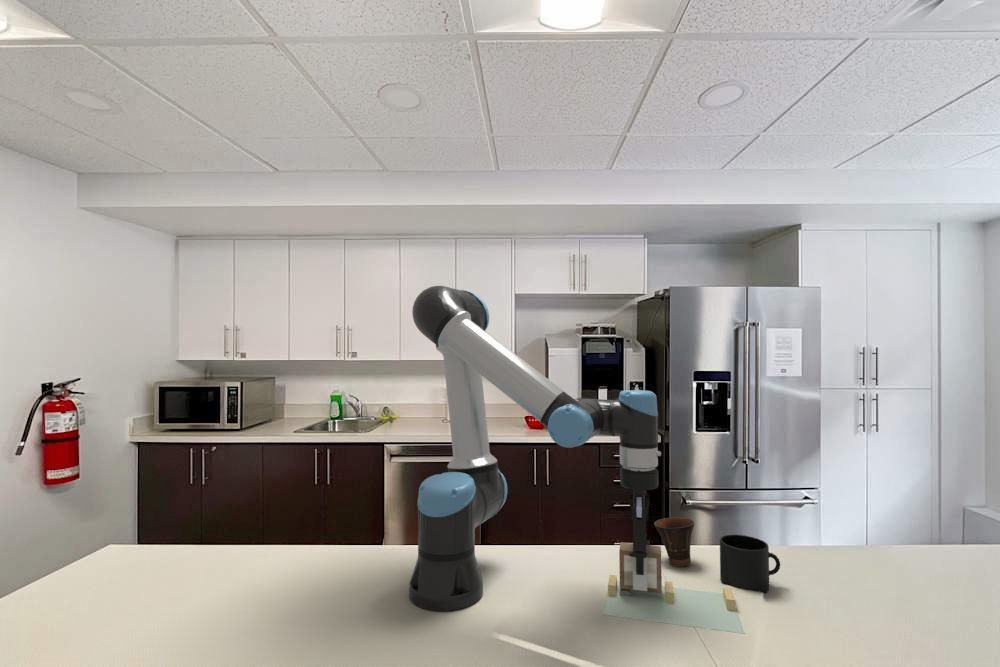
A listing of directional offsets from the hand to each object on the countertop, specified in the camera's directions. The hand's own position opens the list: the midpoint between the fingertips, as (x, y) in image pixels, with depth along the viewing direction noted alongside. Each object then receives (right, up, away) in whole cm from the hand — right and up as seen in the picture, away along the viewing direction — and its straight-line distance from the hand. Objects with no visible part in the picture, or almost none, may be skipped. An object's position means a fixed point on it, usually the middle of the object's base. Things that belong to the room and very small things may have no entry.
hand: (640, 583), depth 104 cm
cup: (+13, -4, +17) cm, 22 cm away
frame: (0, -1, 0) cm, 1 cm away
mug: (+25, -3, +6) cm, 26 cm away
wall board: (+4, -3, -5) cm, 7 cm away
